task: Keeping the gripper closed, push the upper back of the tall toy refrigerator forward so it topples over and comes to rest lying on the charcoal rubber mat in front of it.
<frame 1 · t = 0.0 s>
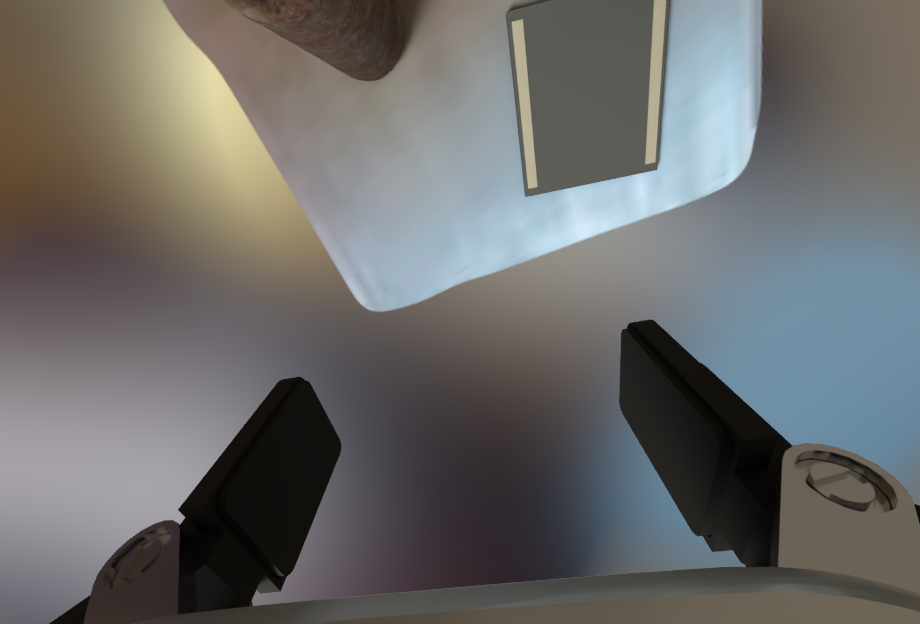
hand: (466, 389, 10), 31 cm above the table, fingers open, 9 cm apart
brown rounded cylinder: (367, 38, 31), on the table
mat: (586, 98, 32), on the table
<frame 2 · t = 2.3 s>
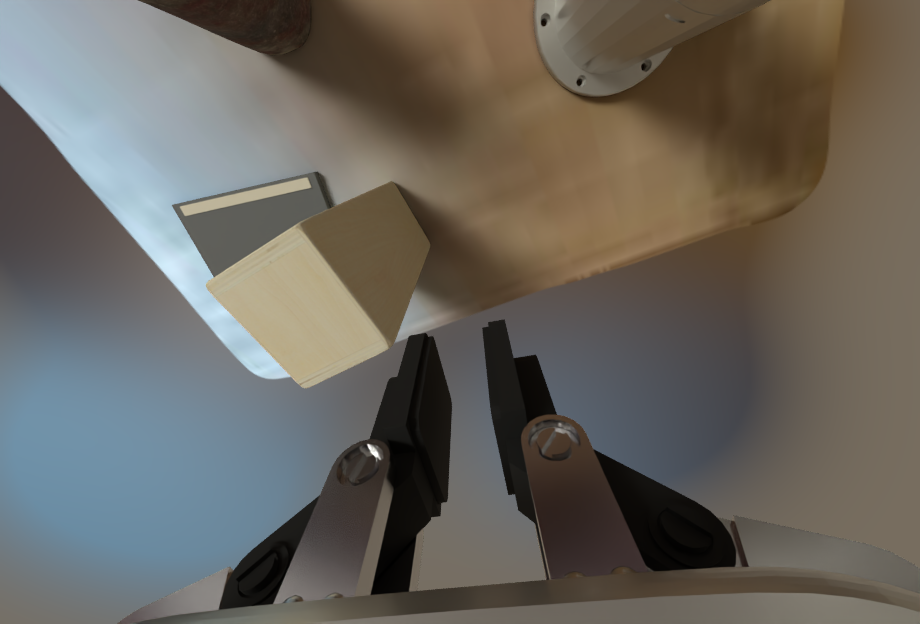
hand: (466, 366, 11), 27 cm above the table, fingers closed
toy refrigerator: (385, 229, 36), on the table
brown rounded cylinder: (268, 5, 27), on the table
mat: (276, 251, 37), on the table
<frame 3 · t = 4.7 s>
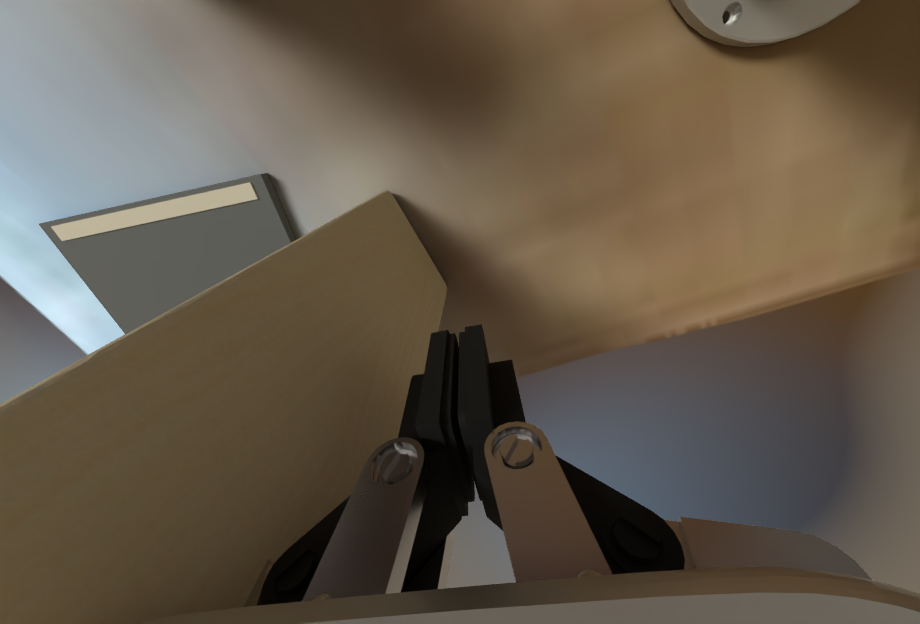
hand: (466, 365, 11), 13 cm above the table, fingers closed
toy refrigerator: (377, 262, 23), on the table
mat: (212, 293, 24), on the table
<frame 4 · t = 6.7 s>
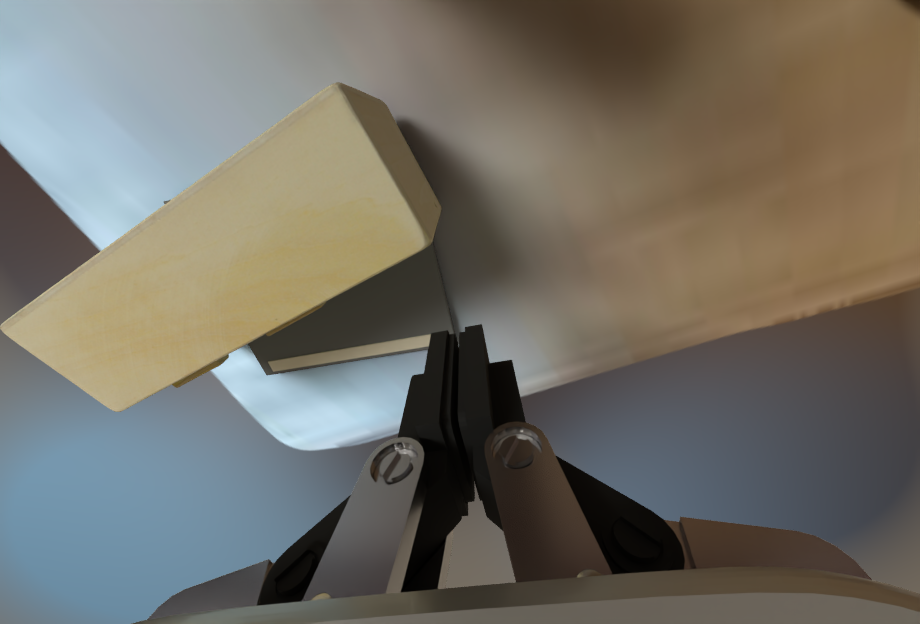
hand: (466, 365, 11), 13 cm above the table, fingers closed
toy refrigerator: (414, 169, 16), point 5 cm above the table, touching mat
mat: (329, 276, 23), on the table
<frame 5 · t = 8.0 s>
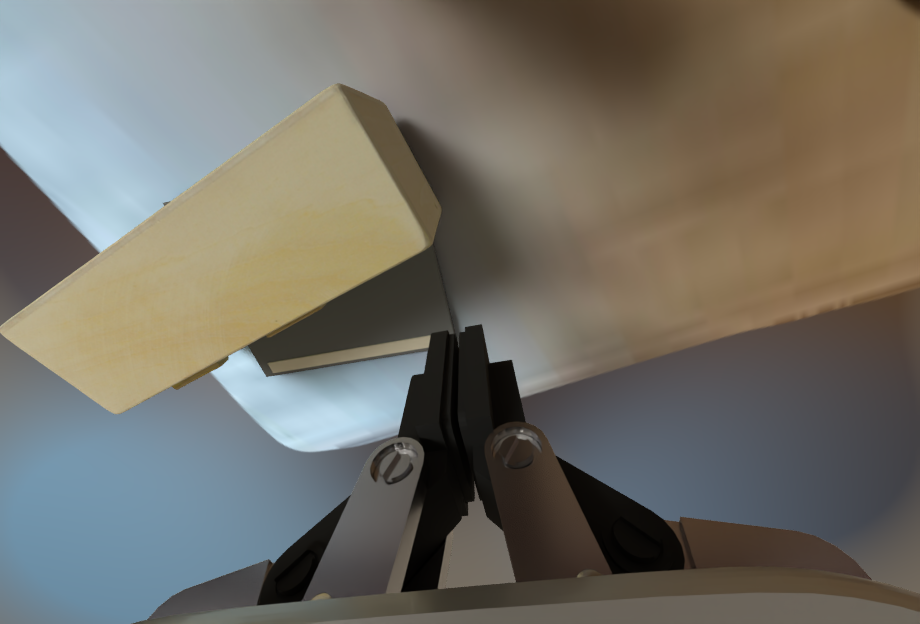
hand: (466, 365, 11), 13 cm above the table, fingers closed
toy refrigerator: (415, 170, 16), point 5 cm above the table, touching mat
mat: (329, 277, 23), on the table
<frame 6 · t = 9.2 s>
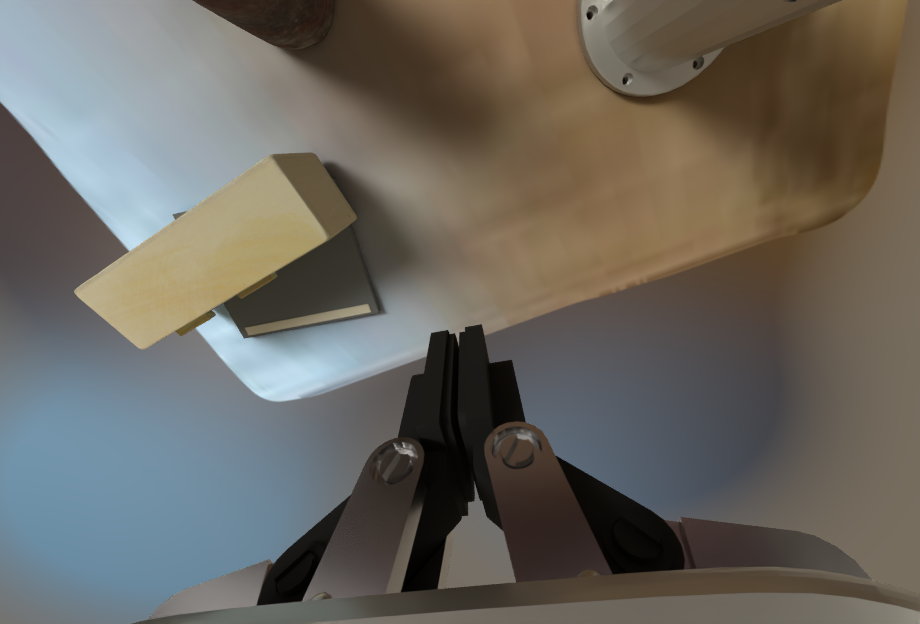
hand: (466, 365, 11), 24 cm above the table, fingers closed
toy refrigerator: (328, 194, 27), point 5 cm above the table, touching mat
mat: (286, 264, 34), on the table
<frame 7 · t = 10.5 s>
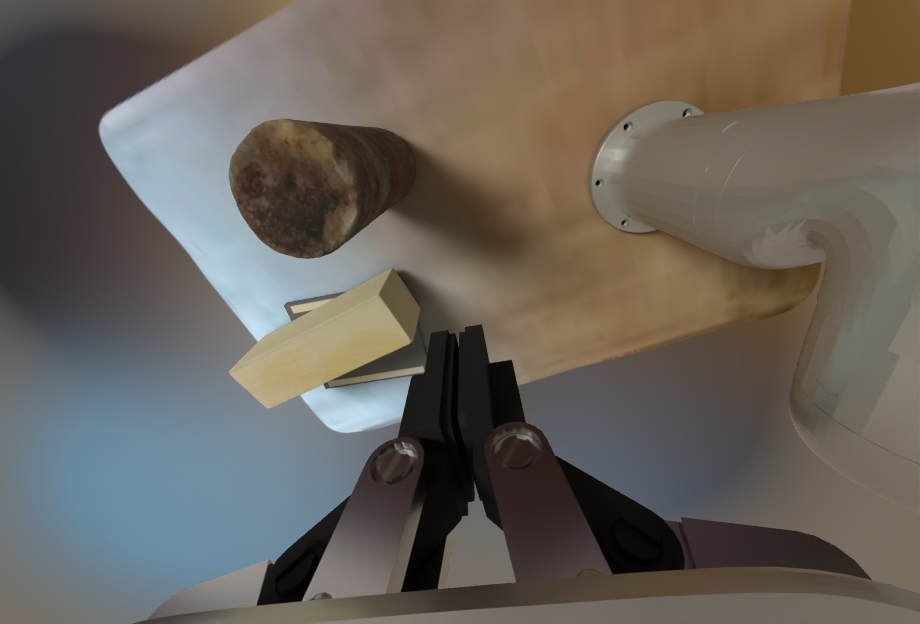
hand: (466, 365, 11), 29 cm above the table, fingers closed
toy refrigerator: (406, 304, 37), point 5 cm above the table, touching mat
brown rounded cylinder: (381, 167, 35), on the table
mat: (362, 337, 45), on the table
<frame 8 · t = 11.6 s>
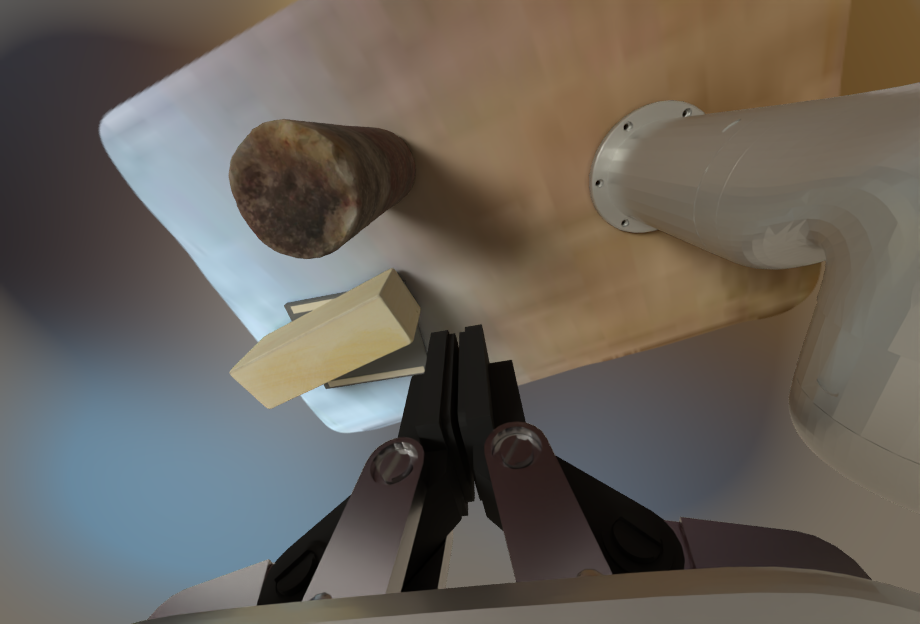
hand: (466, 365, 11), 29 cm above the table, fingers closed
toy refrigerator: (406, 304, 37), point 5 cm above the table, touching mat
brown rounded cylinder: (381, 168, 35), on the table
mat: (363, 337, 45), on the table
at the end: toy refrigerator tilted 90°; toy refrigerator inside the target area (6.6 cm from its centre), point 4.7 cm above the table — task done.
